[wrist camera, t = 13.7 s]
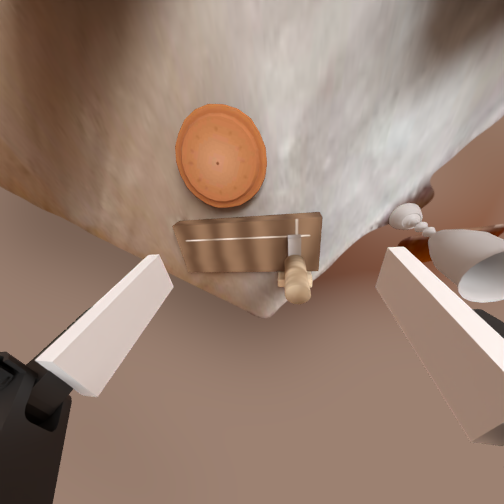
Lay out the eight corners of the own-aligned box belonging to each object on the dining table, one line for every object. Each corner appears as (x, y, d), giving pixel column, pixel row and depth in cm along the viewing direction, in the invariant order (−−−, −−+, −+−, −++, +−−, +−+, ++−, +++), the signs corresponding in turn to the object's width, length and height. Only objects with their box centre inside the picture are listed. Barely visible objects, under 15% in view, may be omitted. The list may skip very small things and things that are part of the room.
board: (193, 265, 48) (188, 272, 45) (179, 221, 42) (172, 226, 39) (316, 263, 42) (318, 271, 40) (319, 212, 36) (322, 217, 34)
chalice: (398, 240, 37) (481, 311, 22) (374, 221, 36) (443, 282, 20) (436, 211, 33) (568, 271, 18) (411, 189, 32) (528, 233, 17)
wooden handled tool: (278, 272, 44) (277, 319, 33) (276, 229, 39) (273, 266, 27) (309, 272, 43) (318, 320, 32) (311, 227, 37) (323, 265, 26)
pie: (167, 145, 34) (151, 146, 30) (235, 82, 28) (227, 72, 24) (218, 215, 40) (210, 224, 35) (283, 175, 34) (283, 180, 30)
